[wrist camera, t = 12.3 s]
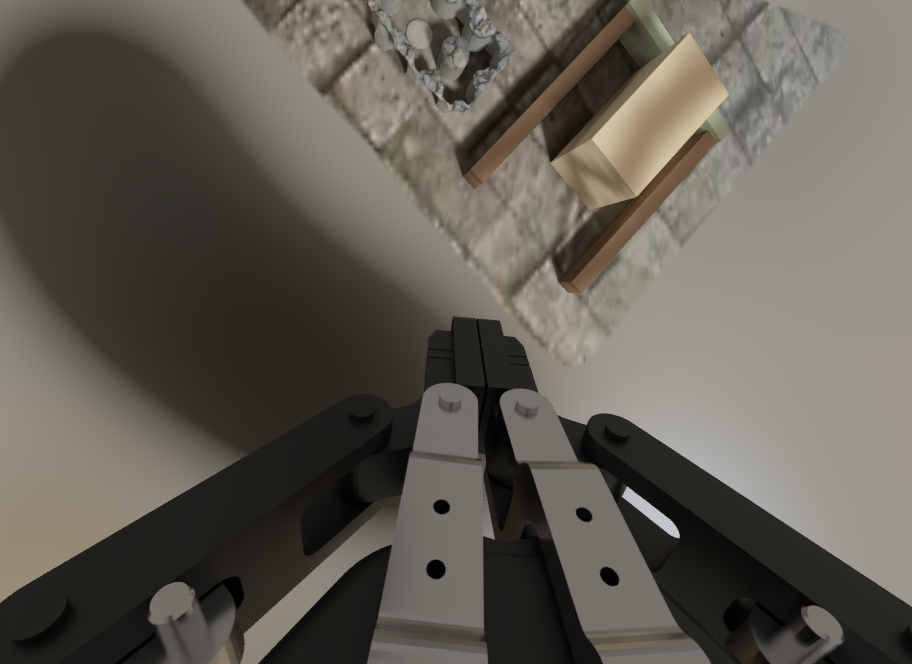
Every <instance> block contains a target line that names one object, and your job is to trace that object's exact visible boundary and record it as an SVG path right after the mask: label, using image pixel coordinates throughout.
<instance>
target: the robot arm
mask: <svg viewBox="0 0 912 664" xmlns="http://www.w3.org/2000/svg"><path fill="white" fill-rule="evenodd" d="M478 454H485V457H486V465H485V469H484V474H483V481H484V485H485V491H486V496H487V501H488V506H489V512H490V517H491V522H492V528H493V533H494V538H495V540H494V539H490V538H487V537H484V536H483V494H482V493H483V487H482V485H483V484H482V460H480V459H478ZM627 486H628V487H629V488H630V489H632V490H633V491H634V492H635V493H637V494H638V495H639V496H641V497H642V498H643V499H645V500H646V501H647V502H649V503H650V504H651V505H652V506H654V507H655V508H656V509H657V510H659V511H660V512H661V513H663V514H664V515H665V516H666V517H668V518H669V519H671V521H672V522H673V523H674V524H675V525H676V527H677V529H678V531H679V534H680V538H675V537H673V536H671V535H669V534H668V533H667V532H665V531H664V530H663V529H661V528H660V527H659V526H658V525H656V524H655V523H654V522H652V520H650V519H649V518H648V517H647V516H645V515H644V514H643V513H641V512H640V511H639V510H638V509H636V508H635V507H634V506H633V505H632V504H630V503H629V502H628V501H626V500H625V499H624V498H623V497H622V495H623V493H624V491H625V489H626V487H627ZM398 495H402V497H401V502H400V507H399V513H398V518H397V523H396V528H395V534H394V539H393V543H392V545H389V546H386V547H384V548H381V549H379V550H377V551H375V552H373V553H371V554H369V555H368V556H366V557H364V558H363V559H361V560H360V561H358V562H357V563H356V564H355V565H354V566H352V567H351V568H350V569H349V570H348V571H347V572H346V573H345V574H344V575H343V576H342V577H341V578H340V579H339V580H338V581H337V582H336V583H335V584H334V585H333V586H332V587H331V588H330V589H329V590H328V591H327V592H326V593H325V594H324V595H323V596H322V598H321V599H320V600H319V601H318V602H317V603H316V604H315V605H314V606H313V607H312V608H311V609H310V610H309V611H308V612H307V613H306V614H305V615H304V616H303V617H302V618H301V619H300V620H299V622H298V623H297V624H296V625H295V626H294V627H293V628H292V629H291V630H290V631H289V632H288V633H287V634H286V635H285V636H284V637H283V638H282V639H281V641H279V642H278V643H277V645H276V646H275V647H274V648H273V649H272V650H271V651H270V652H269V653H268V654H267V655H266V656H265V657H264V658H263V659H262V660H261V661H260V662H259V663H258V664H912V607H911V606H910V605H908V604H907V603H905V602H904V601H902V600H901V599H899V598H897V597H896V596H894V595H893V594H891V593H890V592H888V591H887V590H885V589H884V588H882V587H881V586H879V585H878V584H876V583H875V582H873V581H871V580H870V579H869V578H867V577H866V576H864V575H863V574H861V573H859V572H858V571H857V570H855V569H853V568H852V567H850V566H849V565H847V564H846V563H844V562H842V561H841V560H840V559H838V558H837V557H835V556H834V555H832V554H831V553H829V552H828V551H826V550H825V549H823V548H821V547H820V546H819V545H817V544H815V543H814V542H812V541H811V540H809V539H808V538H806V537H804V536H803V535H802V534H800V533H799V532H797V531H796V530H794V529H793V528H791V527H790V526H788V525H787V524H785V523H784V522H782V521H780V520H779V519H777V518H776V517H774V516H773V515H771V514H769V513H768V512H767V511H765V510H764V509H762V508H761V507H759V506H758V505H756V504H755V503H753V502H752V501H750V500H749V499H747V498H745V497H744V496H743V495H741V494H739V493H738V492H736V491H735V490H733V489H732V488H730V487H729V486H727V485H726V484H724V483H723V482H721V481H720V480H718V479H717V478H715V477H713V476H712V475H711V474H709V473H708V472H706V471H704V470H703V469H701V468H700V467H698V466H697V465H695V464H694V463H692V462H691V461H689V460H688V459H686V458H685V457H683V456H682V455H680V454H679V453H677V452H676V451H674V450H672V449H671V448H670V447H668V446H666V445H665V444H663V443H662V442H660V441H659V440H657V439H656V438H654V437H653V436H651V435H650V434H648V433H647V432H645V431H644V430H642V429H641V428H639V427H638V426H636V425H635V424H633V423H631V422H630V421H628V420H626V419H624V418H622V417H619V416H616V415H613V414H597V415H594V416H592V417H591V418H590V419H589V421H588V423H587V425H585V424H581V423H578V422H575V421H571V420H568V419H565V418H563V417H561V416H558V415H557V414H556V412H555V409H554V407H553V405H552V404H551V403H550V401H549V400H548V399H547V398H546V397H544V396H543V395H541V394H539V393H538V390H537V387H536V384H535V381H534V378H533V374H532V371H531V368H530V367H529V362H528V359H527V355H526V352H525V349H524V346H523V345H522V344H521V343H520V342H519V341H518V340H517V339H516V338H515V337H509V336H504V335H503V331H502V327H501V324H500V321H498V320H487V319H475V318H465V317H455V316H453V319H452V324H451V331H441V330H435V331H434V332H433V334H432V335H431V336H430V337H429V338H428V348H427V358H426V369H425V378H424V393H423V396H422V397H421V398H420V399H419V400H418V401H416V402H415V403H413V404H410V405H408V406H404V407H399V408H393V409H392V408H391V407H390V405H389V404H388V403H387V402H386V401H385V400H383V399H382V398H379V397H377V396H373V395H365V394H364V395H354V396H350V397H347V398H345V399H343V400H341V401H340V402H338V403H336V404H334V405H333V406H331V407H329V408H327V409H326V410H324V411H322V412H321V413H319V414H317V415H316V416H314V417H312V418H310V419H309V420H307V421H305V422H303V423H302V424H300V425H298V426H297V427H295V428H293V429H292V430H290V431H288V432H287V433H285V434H283V435H281V436H280V437H278V438H276V439H274V440H273V441H271V442H269V443H268V444H266V445H264V446H262V447H261V448H259V449H257V450H256V451H254V452H252V453H251V454H249V455H247V456H245V457H244V458H242V459H240V460H239V461H237V462H235V463H234V464H232V465H230V466H228V467H227V468H225V469H223V470H221V471H220V472H218V473H217V474H215V475H213V476H211V477H210V478H208V479H206V480H205V481H203V482H201V483H199V484H198V485H196V486H194V487H192V488H191V489H189V490H187V491H186V492H184V493H182V494H180V495H179V496H177V497H175V498H174V499H172V500H170V501H168V502H167V503H165V504H163V505H162V506H160V507H158V508H157V509H155V510H153V511H151V512H150V513H148V514H146V515H145V516H143V517H141V518H139V519H138V520H136V521H134V522H133V523H131V524H129V525H128V526H126V527H124V528H122V529H121V530H119V531H117V532H116V533H114V534H112V535H110V536H109V537H107V538H105V539H104V540H102V541H100V542H98V543H97V544H95V545H93V546H92V547H90V548H88V549H86V550H85V551H83V552H81V553H80V554H78V555H76V556H75V557H73V558H71V559H69V560H68V561H66V562H64V563H63V564H61V565H59V566H57V567H56V568H54V569H52V570H51V571H49V572H47V573H46V574H44V575H42V576H40V577H39V578H37V579H35V580H33V581H32V582H30V583H29V584H27V585H25V586H23V587H22V588H20V589H19V590H17V591H16V592H14V593H13V594H12V595H10V596H9V597H7V598H6V599H5V600H3V601H2V602H1V603H0V664H240V663H241V660H242V658H243V653H244V645H245V640H244V633H245V632H246V631H247V630H248V629H249V628H250V627H252V625H254V624H255V623H256V622H257V621H258V620H259V619H260V618H261V617H263V616H264V615H265V614H266V613H267V612H268V611H269V610H270V609H271V608H272V607H274V606H275V605H276V604H277V603H278V602H279V601H280V600H281V599H282V598H283V597H285V596H286V595H287V594H288V593H289V592H290V591H291V590H292V589H293V588H294V587H295V586H297V585H298V584H299V583H300V582H301V581H302V580H303V579H304V578H305V577H307V576H308V575H309V574H310V573H311V572H312V571H313V570H314V569H315V568H316V567H317V566H319V565H320V563H322V562H323V561H324V560H325V559H326V558H327V557H328V556H330V555H331V554H332V553H333V552H334V551H335V550H336V549H337V548H338V547H339V546H341V545H342V544H343V543H344V542H345V541H346V540H347V539H348V538H349V537H350V536H352V535H353V534H354V533H355V532H356V531H357V530H358V529H359V528H360V527H361V526H362V525H364V524H365V523H366V522H367V521H368V520H369V519H370V518H371V517H372V516H374V515H375V514H376V513H377V512H378V511H379V510H380V509H381V508H382V507H383V506H384V504H385V503H386V501H387V499H388V498H390V497H394V496H398Z"/></svg>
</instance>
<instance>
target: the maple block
mask: <svg viewBox="0 0 912 664" xmlns="http://www.w3.org/2000/svg"><path fill="white" fill-rule="evenodd" d="M728 95H729V94H728V92H727V91H726V89H725V88H724V86H723V84H722V83H721V81H720V80H719V78H718V77H717V75H716V73H715V72H714V70H713V69H712V67H711V66H710V64H709V62H708V61H707V59H706V58H705V56H704V55H703V53H702V51H701V50H700V48H699V47H698V45H697V44H696V42H695V40H694V39H693V37H692V36H691V34H690V33H688V34H687V35H686V36H684V37H683V38H682V39H680V40H679V41H677V42H676V43H675V44H673V45H672V46H671V47H669V48H668V49H666V50H665V51H664V52H662V53H661V54H660V55H658V56H657V57H655V58H654V59H653V60H651V61H650V62H649V63H647V64H646V65H644V66H643V67H642V68H640V69H639V70H638V71H636V72H635V73H633V74H632V75H631V76H630V77H629V79H628V80H627V81H626V82H625V83H624V84H623V85H622V86H621V87H620V88H619V89H618V90H617V92H616V93H615V94H614V95H613V96H612V97H611V98H610V99H609V100H608V101H607V102H606V103H605V104H604V106H603V107H602V108H601V109H600V110H599V111H598V112H597V113H596V114H595V115H594V116H593V117H592V119H591V120H590V121H589V122H588V123H587V124H586V125H585V126H584V127H583V128H582V129H581V130H580V131H579V133H578V134H577V135H576V136H575V137H574V138H573V139H572V140H571V141H570V142H569V143H568V144H567V146H566V147H565V148H564V149H563V150H562V151H561V152H560V153H559V154H558V155H557V156H556V157H555V158H554V160H553V161H552V162H551V164H552V165H553V166H554V168H555V169H556V170H557V171H558V172H559V174H560V175H561V176H562V177H563V179H564V180H565V181H566V182H567V183H568V185H569V186H570V187H571V188H572V189H573V191H574V192H575V193H576V194H577V196H578V197H579V198H580V199H581V200H582V202H583V203H584V204H585V205H586V206H587V208H588V209H589V210H592V209H596V208H599V207H603V206H607V205H610V204H614V203H617V202H621V201H624V200H628V199H631V198H635V197H637V196H638V195H639V194H640V193H641V192H642V191H643V189H644V188H645V187H646V186H647V185H648V184H649V183H650V182H651V181H652V179H653V178H654V177H655V176H656V175H657V174H658V173H659V172H660V170H661V169H662V168H663V167H664V166H665V165H666V164H667V163H668V162H669V160H670V159H671V158H672V157H673V156H674V155H675V154H676V153H677V152H678V150H679V149H680V148H681V147H682V146H683V145H684V144H685V143H686V142H687V140H688V139H689V138H690V137H691V136H692V135H693V134H694V133H695V131H696V130H697V129H698V128H699V127H700V126H701V125H702V124H703V123H704V121H705V120H706V119H707V118H708V117H709V116H710V115H711V114H712V113H713V111H714V110H715V109H716V108H717V107H718V106H719V105H720V104H721V103H722V101H723V100H724V99H725V98H726V97H727V96H728Z"/></svg>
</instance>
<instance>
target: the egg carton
mask: <svg viewBox="0 0 912 664" xmlns="http://www.w3.org/2000/svg"><path fill="white" fill-rule="evenodd" d="M402 1H403V0H365V2H364V4H365V3H368V5H369V6H370V9H371V10H372V17H371V21H372V23H373V25H374V27H375V29H376V30H375V35H374V39H375V43H376V45H377V46H378V47H379V48H380V49H381V50H382V51H383V52H385V51H387V50H391V49H394V50H397V51H399V52H400V53H401V54H402V55H403V56H404V57H405V58H406V60H407V64H408V67H407V72H406V76H407V77H409V78H410V79H411V80H413V81H414V82H415V83H418V82H421V81H422V82H423V83H424V84H425V85H426V86H427V87H428V88H429V89H430V90H431V91H432V92H434V93H435V94H436V95H437V96H438V101H437V104H436V106H437V107H438V109H439V110H440V111H441V112H443V113H444V114H446V113H448V112H450V111H455V112H458V113H460V114H462V115H463V114H464V113H465V112H466V111H467V110H468V109H469V108H470V107H471V106H472V105H473V103H474V102H475V100H476V99H477V97H478V95H479V94H480V93H481V92H483V91H484V90H485V89H486V87H487V86H488V85H489V84H490V83H491V81H492V80H493V79H494V77H495V76H496V75H497V73H498V72H499V71H501V70H502V69H503V68H504V66H505V65H506V63H507V62H508V60H509V59H510V57H511V56H512V54H513V52H514V51H515V49H516V48H515V46H514V45H513V44H512V43H511V42H510V41H509V40H508V39H507V38H506V37H505V36H504V35H503V34H502V32H500V31H498V30H497V29H496V28H495V26H494V25H493V22H492V20H491V19H488V17H487V16H486V12H485V9H484V7H483V6H482V5H481V4H480V3H479V2H478V1H477V0H431V5H432V8H433V11H434V13H435V14H436V15H437V16H438V17H440V18H442V19H451V18H453V17H457V18H458V19H459V20H460V22H461V23H462V24H463V25H464V27H463V30H462V34H461V36H455V35H451V36H449V37H447V38H446V39H445V40H444V42H443V44H442V47H441V51H440V54H439V56H438V59H437V69H436V68H435V69H433V70H421V71H420V72H419V71H417V69H416V68H415V65H414V55H415V52H414V48H412V45H413V47H415V48H418V49H425V48H427V47H428V46H430V44H431V42H432V38H433V35H432V30H431V28H430V27H429V25H428V23H427V22H425V21H424V20H421V19H414V20H412V21H410V22H409V24H408V25H407V29H406V33H405V32H404V31H400V30H399V29H396V28H395V27H394V25H393V23H392V21H391V19H390V18H389V17H388V16H394V15H396V14H397V13H398V12H399V11H400V9H401V6H402ZM406 36H407V37H406ZM483 49H485V50H486V51H487V52H488V53H489V54H490V55H491V56H492V59H491V62H490V67H488V68H486V69H485V70H478V71H477V72H476V73H475V74H474V77H473V79H472V81H471V83H470V84H469V86H468V87H467V90H466V100H467V103H468V104H469V105H468V104H466V103H465V102H464V101H463V100H456V101H454V102H453V103H452V104H449V103H448V102H447V101H445V100H444V98H443V97H442V95H443V88H444V84H443V82H442V79H441V76H442V77H443V78H444V79H446V80H449V81H454V80H456V79H458V78H459V77H460V76H461V74H462V72H463V70H464V68H465V66H466V65H467V63H468V60H469V50H470V51H472V52H479V51H481V50H483ZM440 75H441V76H440Z"/></svg>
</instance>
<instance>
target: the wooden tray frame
mask: <svg viewBox="0 0 912 664" xmlns="http://www.w3.org/2000/svg"><path fill="white" fill-rule="evenodd" d="M618 39H619V40H620V42H621V43H622V44H623V46H624V47H625V49H626V50H627V52H628V53H629V55H630V56H631V58H632V59H633V60H634V62H635V63H636V65H637V66H638V68H639V69H640V68H642V67H643V66H644V65H646V64H647V63H649V62H650V61H651V60H653V59H654V58H655V57H657V56H658V55H660V54H661V53H662V52H664V51H665V50H666V49H668V48H669V47H671V46H672V45H673V44H675V43H674V42H673V40H672V38H671V37H670V35H669V34H668V32H667V31H666V29H665V28H664V26H663V25H662V23H661V22H660V20H659V18H658V17H657V15H656V14H655V12H654V11H653V9H652V8H651V6H650V5H649V3H648V2H647V0H630V1H629V2H628V3H627V4H626V5H625V6H624V7H623V8H622V9H621V10H620V11H619V12H618V13H617V14H616V15H615V16H614V18H613V19H612V20H611V21H610V22H609V23H608V24H607V25H606V26H605V27H604V28H603V29H602V30H601V31H600V32H599V33H598V34H597V35H596V37H595V38H594V39H593V40H592V41H591V42H590V43H589V44H588V45H587V46H586V47H585V48H584V49H583V50H582V51H581V52H580V53H579V54H578V56H577V57H576V58H575V59H574V60H573V61H572V62H571V63H570V64H569V65H568V66H567V67H566V68H565V69H564V70H563V71H562V72H561V73H560V74H559V76H558V77H557V78H556V79H555V80H554V81H553V82H552V83H551V84H550V85H549V86H548V87H547V88H546V89H545V90H544V91H543V92H542V93H541V95H540V96H539V97H538V98H537V99H536V100H535V101H534V102H533V103H532V104H531V105H530V106H529V107H528V108H527V109H526V110H525V111H524V112H523V113H522V115H521V116H520V117H519V118H518V119H517V120H516V121H515V122H514V123H513V124H512V125H511V126H510V127H509V128H508V129H507V130H506V131H505V132H504V134H503V135H502V136H501V137H500V138H499V139H498V140H497V141H496V142H495V143H494V144H493V145H492V146H491V147H490V148H489V149H488V150H487V151H486V153H485V154H484V155H483V156H482V157H481V158H480V159H479V160H478V161H477V162H476V163H475V164H474V165H473V166H472V167H471V168H470V169H469V170H468V171H467V173H466V174H465V175H464V176H463V177H464V178H465V179H466V180H467V181H468V183H469V184H470V185H471V186H472V187H473V188H474V189H475V188H477V187H478V186H479V185H481V184H482V183H483V182H484V181H485V180H486V179H487V178H488V177H489V176H490V175H491V174H492V173H493V172H494V171H495V170H496V169H497V167H498V166H499V165H500V164H501V163H502V162H503V161H504V160H505V159H506V158H507V157H508V156H509V155H510V154H511V153H512V152H513V150H514V149H515V148H516V147H517V146H518V145H519V144H520V143H521V142H522V141H523V140H524V139H525V138H526V137H527V136H528V135H529V133H530V132H531V131H532V130H533V129H534V128H535V127H536V126H537V125H538V124H539V123H540V122H541V121H542V120H543V119H544V118H545V117H546V115H547V114H548V113H549V112H550V111H551V110H552V109H553V108H554V107H555V106H556V105H557V104H558V103H559V102H560V101H561V100H562V98H563V97H564V96H565V95H566V94H567V93H568V92H569V91H570V90H571V89H572V88H573V87H574V86H575V85H576V84H577V83H578V81H579V80H580V79H581V78H582V77H583V76H584V75H585V74H586V73H587V72H588V71H589V70H590V69H591V68H592V67H593V66H594V64H595V63H596V62H597V61H598V60H599V59H600V58H601V57H602V56H603V55H604V54H605V53H606V52H607V51H608V50H609V49H610V48H611V46H612V45H613V44H614V43H615V42H616V41H617V40H618ZM730 130H731V129H730V128H729V126H728V125H727V123H726V122H725V120H724V119H723V117H722V116H721V114H720V112H719V111H718V109H717V108H716V109H715V110H714V111H713V113H712V114H711V115H710V116H709V117H708V118H707V119H706V120H705V121H704V123H703V124H702V125H701V126H700V127H699V128H698V129H697V130H696V131H695V133H694V134H693V135H692V136H691V137H690V138H689V139H688V140H687V142H686V143H685V144H684V145H683V146H682V147H681V148H680V149H679V150H678V152H677V153H676V154H675V155H674V156H673V157H672V158H671V159H670V160H669V162H668V163H667V164H666V165H665V166H664V167H663V168H662V169H661V170H660V172H659V173H658V174H657V175H656V176H655V177H654V178H653V179H652V181H651V182H650V183H649V184H648V185H647V186H646V187H645V188H644V189H643V191H642V192H641V193H640V194H639V195H638V196H637V197H635V198H634V199H633V200H632V201H631V202H630V203H629V204H628V205H627V206H626V207H625V209H624V210H623V211H622V212H621V213H620V214H619V215H618V216H617V217H616V219H615V220H614V221H613V222H612V223H611V224H610V225H609V226H608V227H607V229H606V230H605V231H604V232H603V233H602V234H601V235H600V236H599V237H598V239H597V240H596V241H595V242H594V243H593V244H592V245H591V246H590V247H589V249H588V250H587V251H586V252H585V253H584V254H583V255H582V256H581V257H580V259H579V260H578V261H577V262H576V263H575V264H574V265H573V266H572V267H571V268H570V270H569V271H568V272H567V273H566V274H565V275H564V276H563V277H562V278H561V280H560V281H559V283H560V284H561V285H562V286H563V288H564V289H565V290H566V291H567V292H568V293H582V292H583V291H584V290H585V289H586V288H587V287H588V286H589V285H590V284H591V282H592V281H593V280H594V279H595V278H596V277H597V276H598V275H599V273H600V272H601V271H602V270H603V269H604V268H605V267H606V266H607V264H608V263H609V262H610V261H611V260H612V259H613V258H614V257H615V256H616V254H617V253H618V252H619V251H620V250H621V249H622V248H623V247H624V245H625V244H626V243H627V242H628V241H629V240H630V239H631V238H632V236H633V235H634V234H635V233H636V232H637V231H638V230H639V229H640V228H641V226H642V225H643V224H644V223H645V222H646V221H647V220H648V219H649V217H650V216H651V215H652V214H653V213H654V212H655V211H656V210H657V209H658V207H659V206H660V205H661V204H662V203H663V202H664V201H665V200H666V198H667V197H668V196H669V195H670V194H671V193H672V192H673V191H674V189H675V188H676V187H677V186H678V185H679V184H680V183H681V182H682V181H683V179H684V178H685V177H686V176H687V175H688V174H689V173H690V172H691V170H692V169H693V168H694V167H695V166H696V165H697V164H698V163H699V162H700V160H701V159H702V158H703V157H704V156H705V155H706V154H707V153H708V151H709V150H710V149H711V148H712V147H713V146H714V145H715V144H716V143H717V142H719V141H721V140H722V139H723V138H724V137H725V136H726V135H727V134H728V132H729V131H730Z"/></svg>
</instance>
